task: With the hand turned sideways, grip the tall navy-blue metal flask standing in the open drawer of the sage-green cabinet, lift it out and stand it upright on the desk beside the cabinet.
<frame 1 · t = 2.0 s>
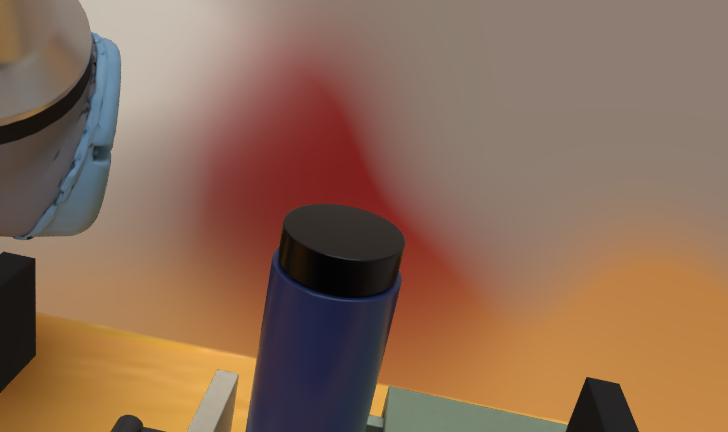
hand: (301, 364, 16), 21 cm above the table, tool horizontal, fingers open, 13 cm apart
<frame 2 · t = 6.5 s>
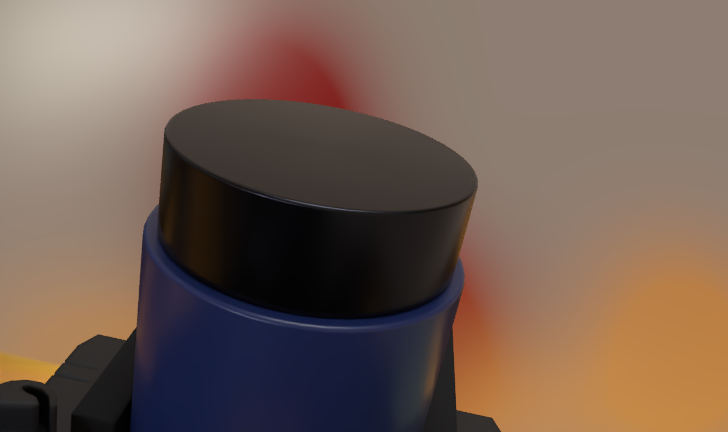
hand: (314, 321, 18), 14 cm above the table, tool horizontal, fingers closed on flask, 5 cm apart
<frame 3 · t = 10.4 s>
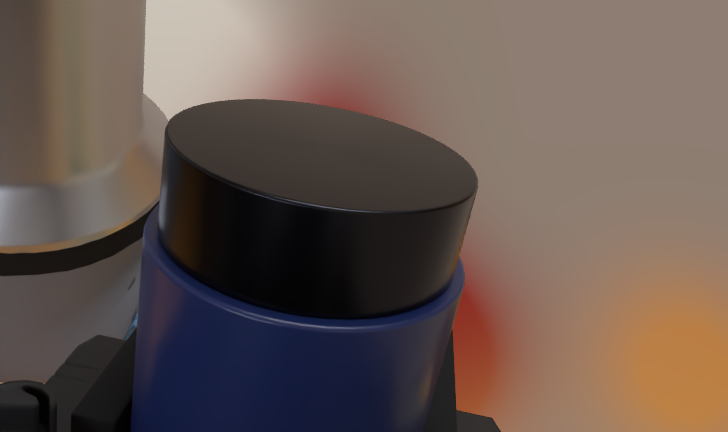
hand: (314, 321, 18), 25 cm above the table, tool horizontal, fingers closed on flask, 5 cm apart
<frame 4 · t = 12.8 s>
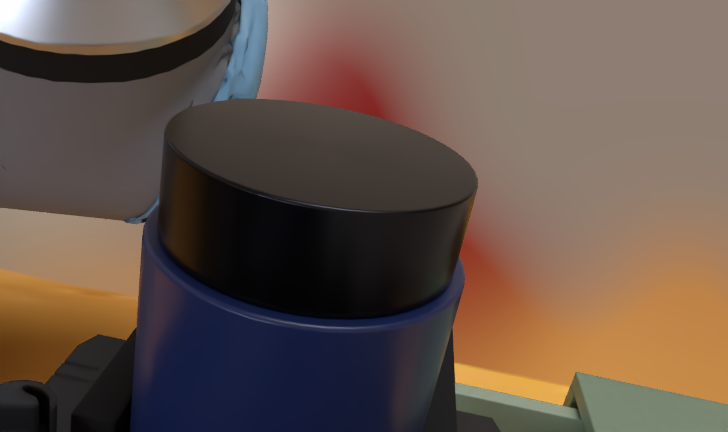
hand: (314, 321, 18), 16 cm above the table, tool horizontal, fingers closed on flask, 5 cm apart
when the fingers open (11 cm above the table, at t = 14.4 s): flask stays where it is, on the table.
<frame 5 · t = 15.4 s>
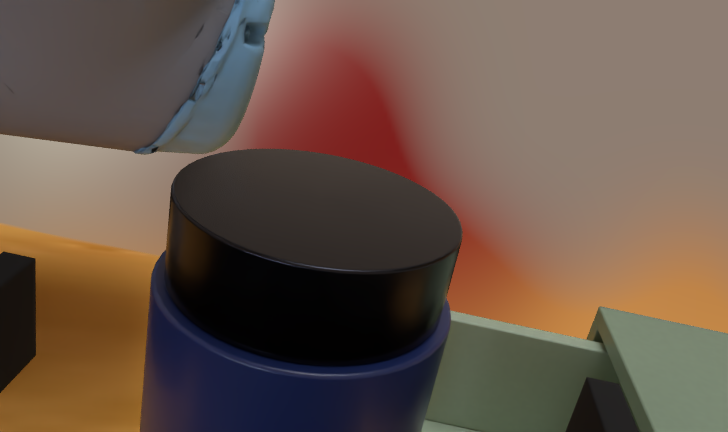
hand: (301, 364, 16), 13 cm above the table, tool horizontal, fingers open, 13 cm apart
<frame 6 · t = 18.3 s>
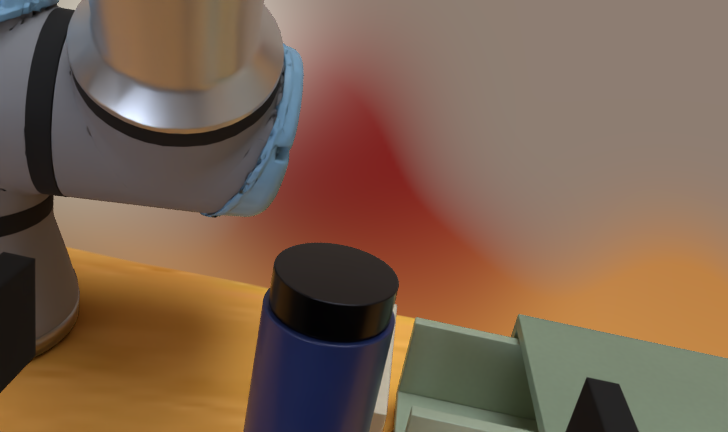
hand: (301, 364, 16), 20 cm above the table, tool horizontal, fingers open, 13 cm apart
drawer: (437, 410, 41), point 4 cm above the table, slide at 8.0 cm
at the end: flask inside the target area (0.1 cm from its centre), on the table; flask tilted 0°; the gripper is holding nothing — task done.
